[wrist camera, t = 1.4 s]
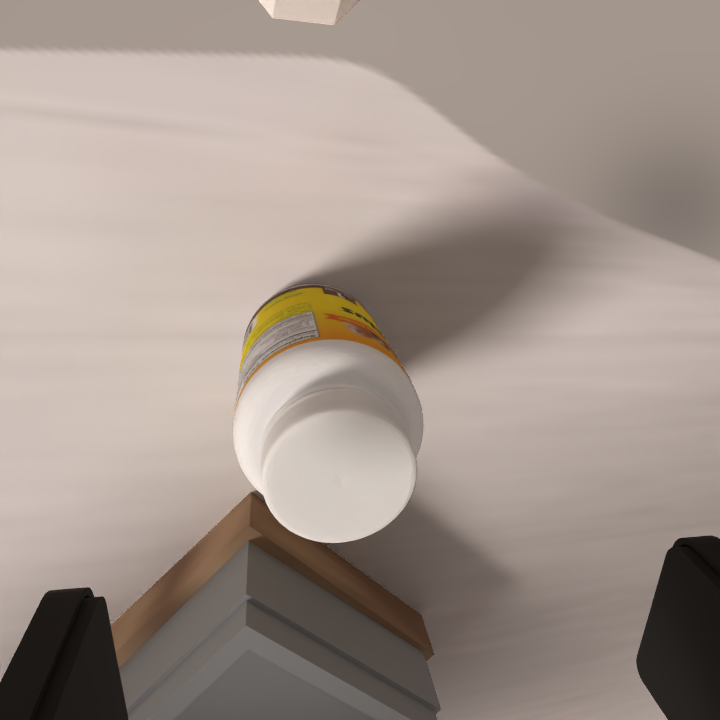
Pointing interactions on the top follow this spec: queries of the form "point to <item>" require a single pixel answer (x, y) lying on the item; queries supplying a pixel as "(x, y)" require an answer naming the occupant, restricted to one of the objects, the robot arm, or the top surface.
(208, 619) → the tower top
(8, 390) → the top surface
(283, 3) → the pepper shaker
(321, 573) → the tower base
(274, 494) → the supplement bottle
